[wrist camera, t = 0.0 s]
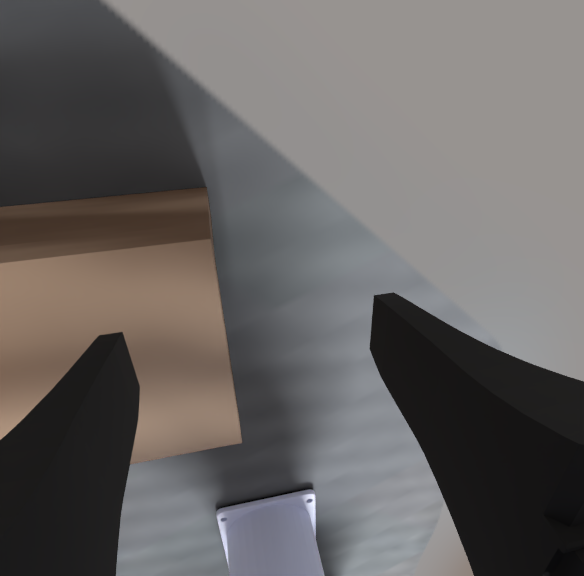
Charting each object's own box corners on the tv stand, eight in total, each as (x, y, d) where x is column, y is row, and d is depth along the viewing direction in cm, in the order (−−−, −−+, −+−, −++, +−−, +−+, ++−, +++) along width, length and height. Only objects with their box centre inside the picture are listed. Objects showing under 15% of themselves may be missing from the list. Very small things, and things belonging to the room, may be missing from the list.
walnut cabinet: (232, 362, 25) (242, 442, 20) (59, 390, 24) (23, 484, 19) (206, 187, 19) (210, 238, 14) (-25, 209, 18) (-111, 276, 13)
